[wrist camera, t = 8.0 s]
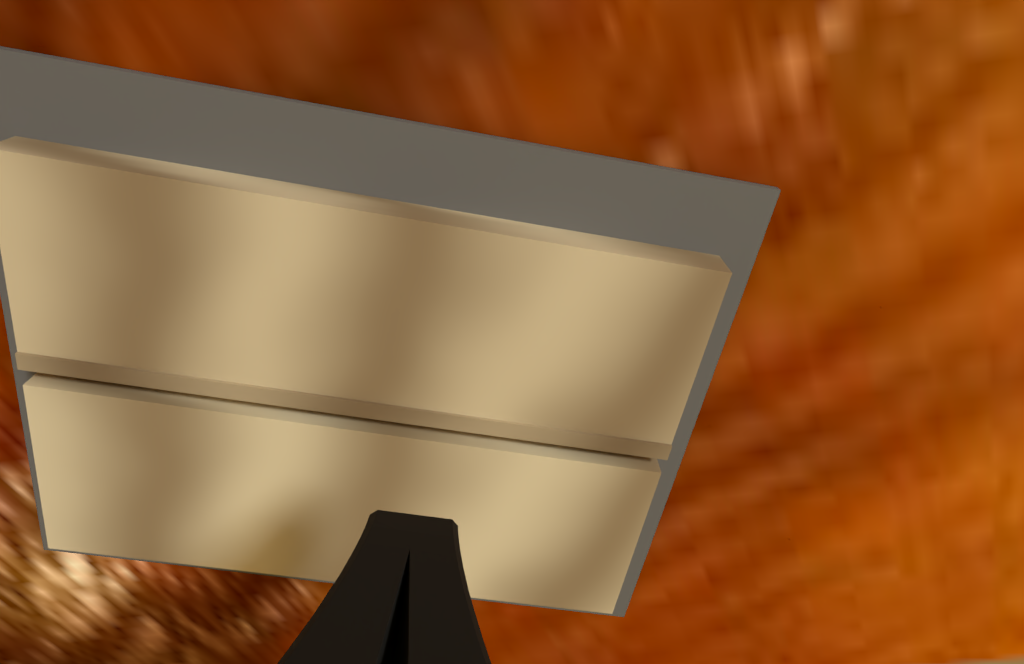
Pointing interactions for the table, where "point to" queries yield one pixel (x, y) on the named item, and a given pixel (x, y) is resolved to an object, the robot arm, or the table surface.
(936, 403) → the table surface
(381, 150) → the underlay mat
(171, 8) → the table surface
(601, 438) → the fixed plank
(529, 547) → the board
